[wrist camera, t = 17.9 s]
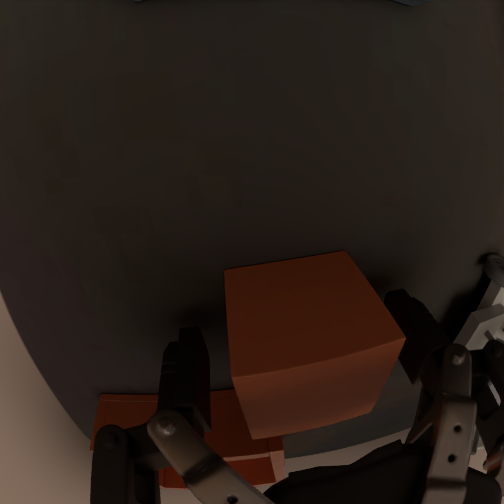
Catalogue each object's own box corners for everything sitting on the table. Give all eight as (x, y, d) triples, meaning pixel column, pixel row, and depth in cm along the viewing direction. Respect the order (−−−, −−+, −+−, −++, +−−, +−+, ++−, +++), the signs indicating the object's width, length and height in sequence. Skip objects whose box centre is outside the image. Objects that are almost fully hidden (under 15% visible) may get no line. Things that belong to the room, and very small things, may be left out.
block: (240, 350, 13) (252, 440, 9) (223, 269, 11) (230, 378, 6) (336, 332, 14) (370, 412, 9) (345, 249, 11) (406, 337, 7)
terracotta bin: (160, 449, 21) (159, 488, 17) (100, 393, 15) (89, 450, 11) (277, 440, 21) (285, 482, 17) (270, 382, 15) (284, 450, 11)
